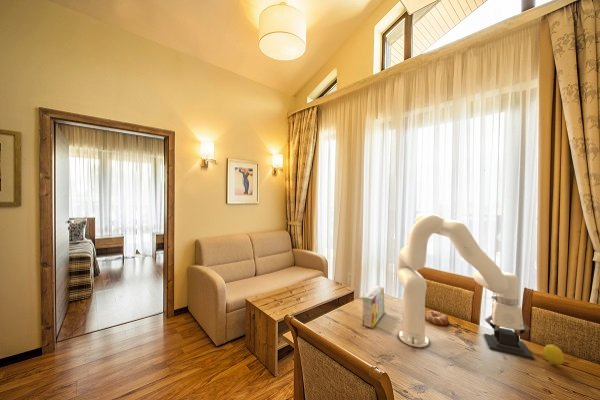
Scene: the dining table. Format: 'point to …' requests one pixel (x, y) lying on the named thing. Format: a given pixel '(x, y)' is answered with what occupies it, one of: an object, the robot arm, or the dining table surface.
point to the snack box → (373, 306)
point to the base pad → (508, 347)
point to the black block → (507, 337)
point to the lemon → (553, 354)
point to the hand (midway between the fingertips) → (506, 340)
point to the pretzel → (436, 318)
